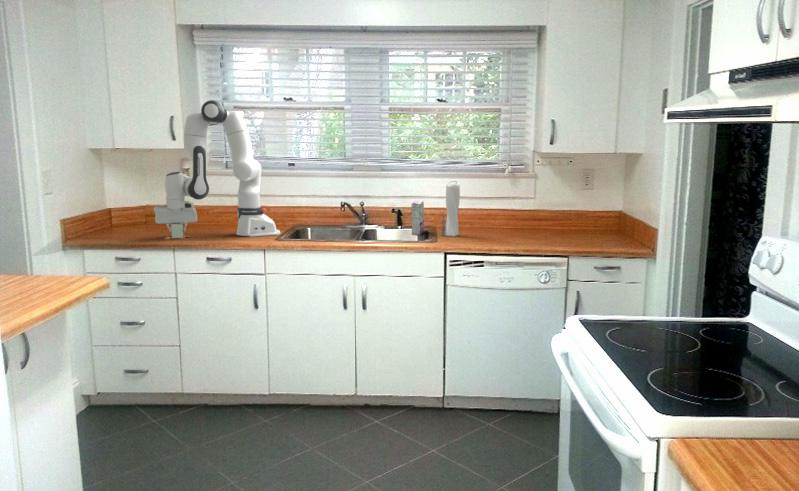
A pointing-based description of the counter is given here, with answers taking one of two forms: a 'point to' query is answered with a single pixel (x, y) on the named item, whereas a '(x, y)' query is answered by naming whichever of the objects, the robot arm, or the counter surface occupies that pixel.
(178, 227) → the sage block
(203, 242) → the counter surface
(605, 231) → the counter surface
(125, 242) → the counter surface
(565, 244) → the counter surface
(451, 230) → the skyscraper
